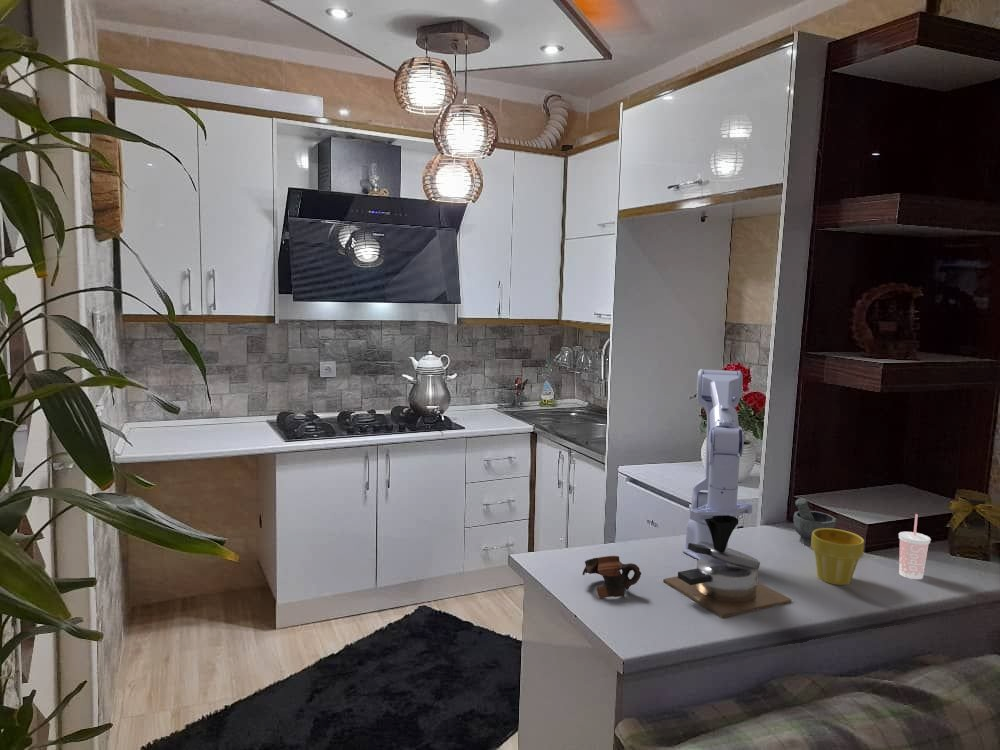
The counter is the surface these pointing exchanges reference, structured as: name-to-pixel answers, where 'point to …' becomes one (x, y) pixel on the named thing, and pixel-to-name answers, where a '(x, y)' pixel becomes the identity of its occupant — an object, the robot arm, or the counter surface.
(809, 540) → the mortar and pestle
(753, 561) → the cooker lid
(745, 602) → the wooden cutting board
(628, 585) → the pottery mug
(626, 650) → the counter surface
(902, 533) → the beverage cup
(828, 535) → the plant pot
